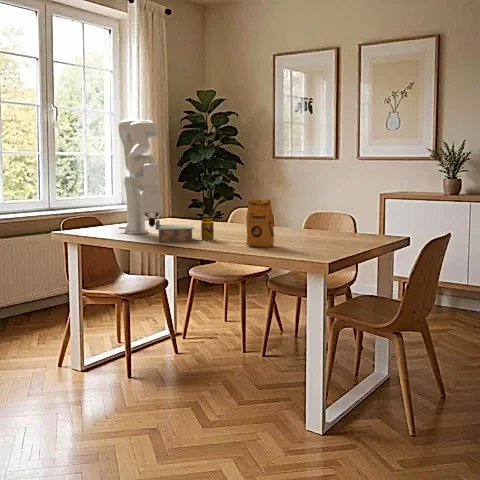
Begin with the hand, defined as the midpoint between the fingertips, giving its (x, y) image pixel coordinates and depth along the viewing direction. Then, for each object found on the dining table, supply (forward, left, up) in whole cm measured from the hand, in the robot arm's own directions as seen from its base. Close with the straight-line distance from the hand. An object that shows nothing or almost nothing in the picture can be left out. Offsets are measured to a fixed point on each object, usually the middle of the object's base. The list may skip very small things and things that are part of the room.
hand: (152, 226), depth 306 cm
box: (+11, 0, -7) cm, 13 cm away
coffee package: (+50, -24, -7) cm, 56 cm away
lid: (+11, 0, -1) cm, 11 cm away
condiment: (+26, 0, -7) cm, 27 cm away
